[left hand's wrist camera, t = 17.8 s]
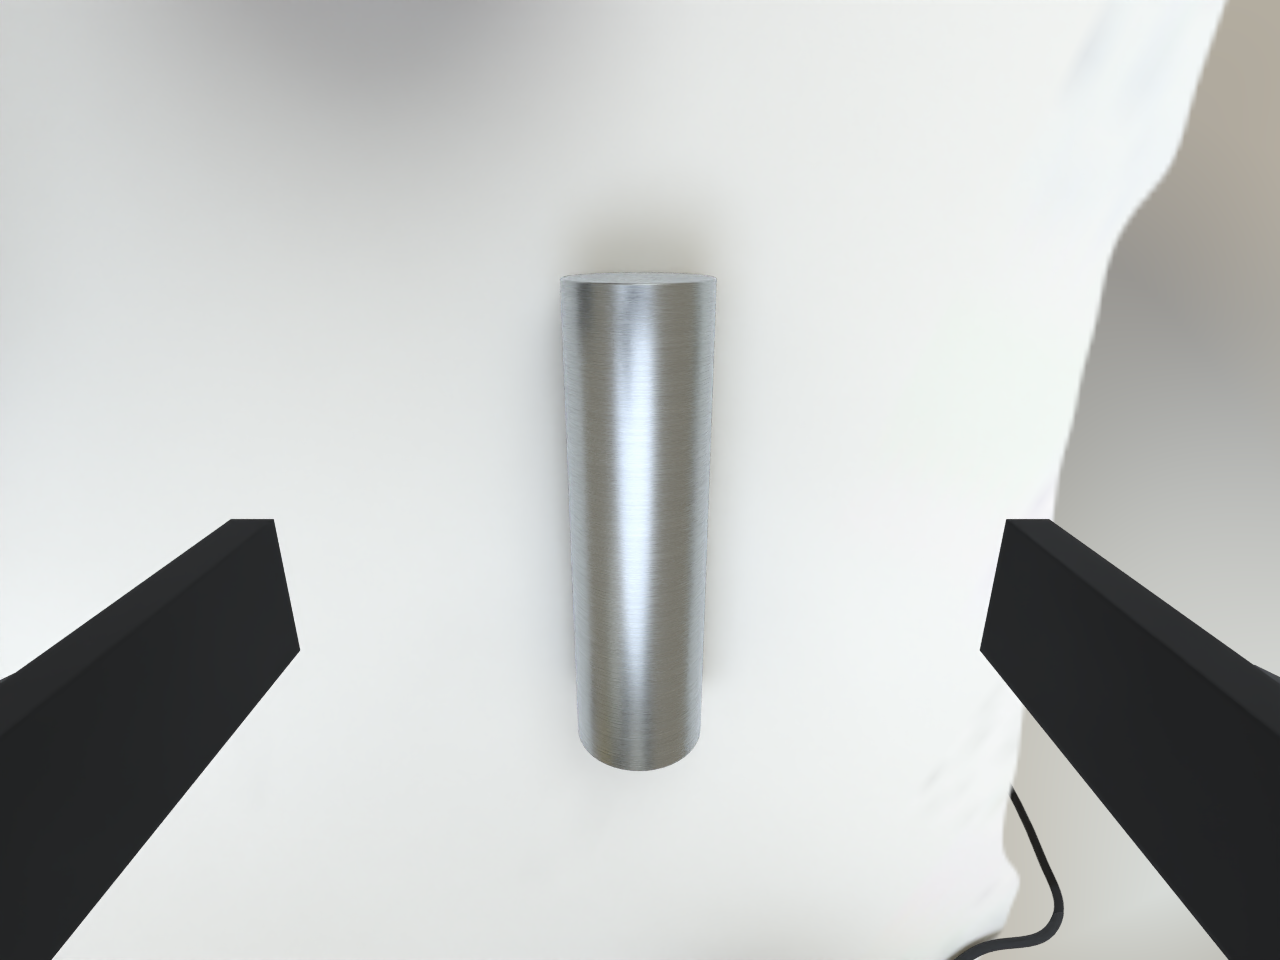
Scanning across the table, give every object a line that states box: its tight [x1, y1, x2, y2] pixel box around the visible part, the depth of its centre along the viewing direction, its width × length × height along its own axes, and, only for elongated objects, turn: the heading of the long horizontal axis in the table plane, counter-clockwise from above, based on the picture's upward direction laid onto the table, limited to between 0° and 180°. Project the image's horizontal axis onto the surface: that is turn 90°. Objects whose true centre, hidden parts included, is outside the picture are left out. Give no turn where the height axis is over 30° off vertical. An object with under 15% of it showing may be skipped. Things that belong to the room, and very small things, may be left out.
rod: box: [560, 273, 717, 771], centre depth 38 cm, size 27×8×8 cm, turn 0°
